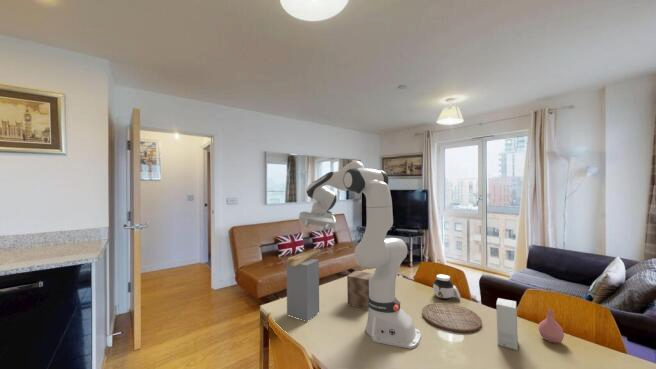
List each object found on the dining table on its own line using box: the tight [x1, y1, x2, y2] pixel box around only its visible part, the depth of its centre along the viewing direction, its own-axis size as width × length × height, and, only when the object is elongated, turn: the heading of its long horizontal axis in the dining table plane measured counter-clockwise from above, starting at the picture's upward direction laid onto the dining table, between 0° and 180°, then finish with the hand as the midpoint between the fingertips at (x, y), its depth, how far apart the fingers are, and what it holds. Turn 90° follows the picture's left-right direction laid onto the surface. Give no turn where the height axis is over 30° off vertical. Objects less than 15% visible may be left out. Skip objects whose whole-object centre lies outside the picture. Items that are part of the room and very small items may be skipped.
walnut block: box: [346, 270, 373, 311], centre depth 137 cm, size 12×10×15 cm
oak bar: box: [287, 248, 322, 266], centre depth 128 cm, size 4×22×3 cm, turn 149°
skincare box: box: [495, 297, 519, 351], centre depth 102 cm, size 8×7×16 cm
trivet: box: [421, 302, 483, 334], centre depth 121 cm, size 25×25×2 cm
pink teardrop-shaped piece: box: [538, 308, 565, 343], centre depth 102 cm, size 8×8×12 cm
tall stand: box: [286, 258, 320, 322], centre depth 126 cm, size 12×10×26 cm
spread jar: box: [432, 273, 461, 301], centre depth 143 cm, size 12×11×12 cm
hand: (316, 227), depth 136 cm, fingers open, 8 cm apart
